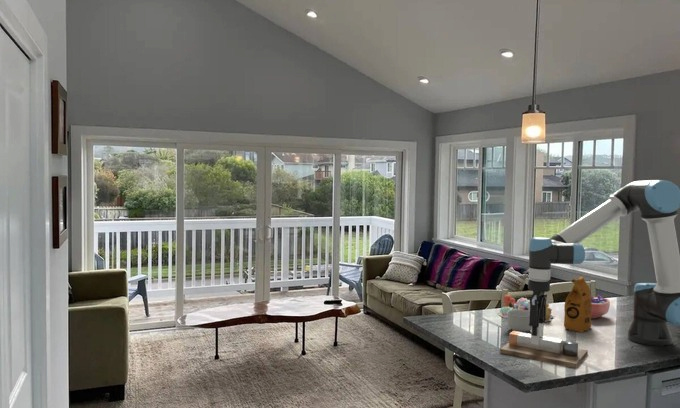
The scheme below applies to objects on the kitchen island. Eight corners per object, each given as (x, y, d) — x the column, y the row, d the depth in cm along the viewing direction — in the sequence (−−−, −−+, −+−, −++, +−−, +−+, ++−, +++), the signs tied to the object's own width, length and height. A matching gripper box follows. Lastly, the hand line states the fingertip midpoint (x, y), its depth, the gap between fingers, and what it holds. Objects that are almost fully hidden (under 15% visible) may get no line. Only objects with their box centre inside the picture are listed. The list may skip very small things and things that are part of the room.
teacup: (535, 335, 211) (536, 316, 210) (508, 333, 213) (508, 314, 213) (530, 326, 224) (530, 308, 224) (504, 324, 226) (504, 306, 226)
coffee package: (559, 328, 221) (560, 278, 220) (571, 323, 229) (572, 274, 229) (583, 333, 214) (584, 281, 213) (594, 328, 222) (595, 277, 221)
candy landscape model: (549, 312, 251) (549, 293, 250) (558, 325, 228) (558, 304, 227) (496, 309, 256) (496, 291, 256) (499, 321, 233) (500, 301, 233)
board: (587, 354, 187) (587, 350, 187) (576, 368, 173) (576, 363, 173) (516, 341, 203) (516, 337, 203) (500, 352, 188) (500, 348, 188)
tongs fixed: (579, 354, 183) (579, 342, 182) (575, 357, 179) (576, 345, 178) (513, 341, 197) (513, 330, 197) (508, 344, 193) (509, 333, 193)
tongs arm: (560, 352, 184) (561, 341, 184) (559, 354, 182) (559, 342, 182) (511, 342, 195) (511, 332, 194) (509, 344, 193) (509, 333, 193)
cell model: (618, 317, 240) (619, 293, 240) (595, 324, 229) (596, 298, 228) (584, 310, 254) (584, 287, 254) (560, 315, 243) (561, 292, 242)
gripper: (535, 275, 197) (533, 334, 198) (521, 281, 183) (518, 345, 184) (556, 277, 193) (553, 338, 194) (542, 284, 179) (540, 350, 180)
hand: (536, 342), depth 189 cm, fingers open, 4 cm apart
